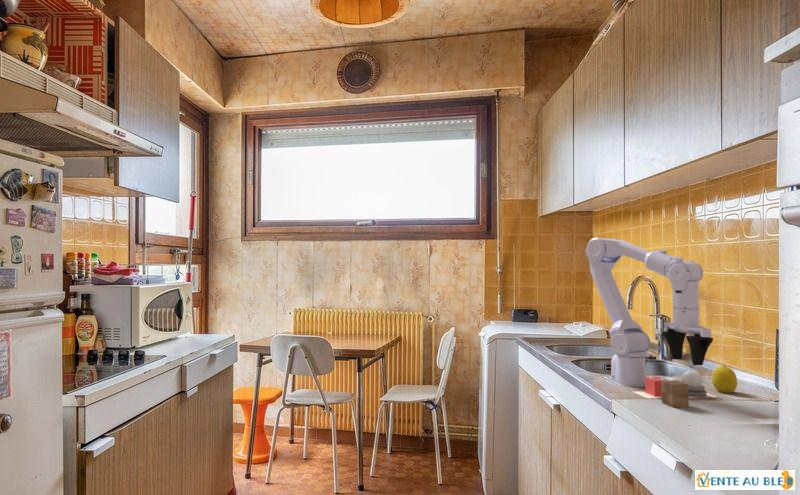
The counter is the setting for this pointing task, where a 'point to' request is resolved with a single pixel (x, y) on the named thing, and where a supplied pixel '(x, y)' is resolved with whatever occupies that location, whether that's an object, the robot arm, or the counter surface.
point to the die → (653, 386)
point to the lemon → (724, 379)
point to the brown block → (674, 393)
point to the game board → (690, 393)
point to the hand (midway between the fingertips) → (687, 362)
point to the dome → (693, 381)
